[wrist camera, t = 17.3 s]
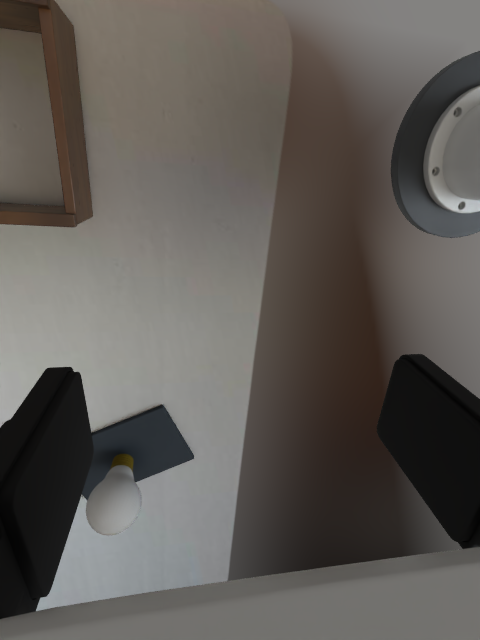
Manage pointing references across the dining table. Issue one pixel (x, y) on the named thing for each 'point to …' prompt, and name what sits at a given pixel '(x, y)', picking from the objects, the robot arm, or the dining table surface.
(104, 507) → the light bulb
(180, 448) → the mat
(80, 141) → the brown wooden square frame
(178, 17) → the dining table surface
